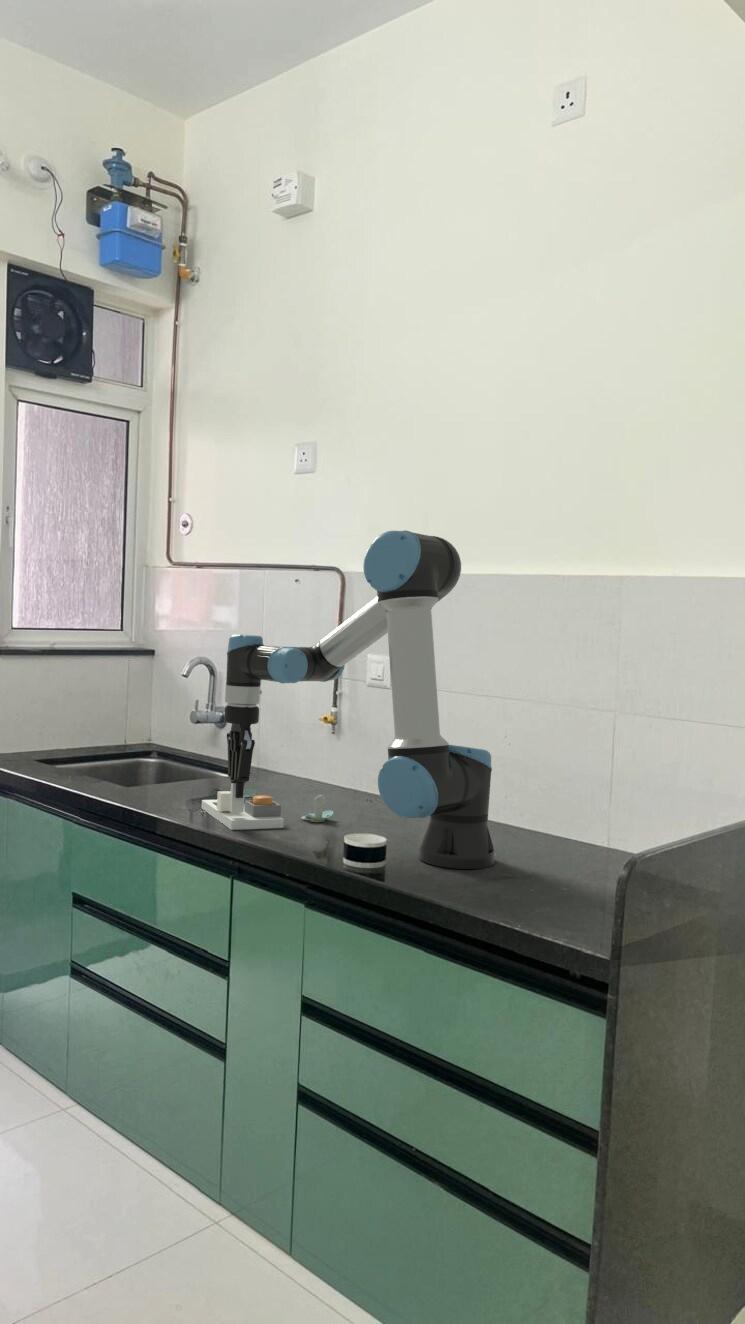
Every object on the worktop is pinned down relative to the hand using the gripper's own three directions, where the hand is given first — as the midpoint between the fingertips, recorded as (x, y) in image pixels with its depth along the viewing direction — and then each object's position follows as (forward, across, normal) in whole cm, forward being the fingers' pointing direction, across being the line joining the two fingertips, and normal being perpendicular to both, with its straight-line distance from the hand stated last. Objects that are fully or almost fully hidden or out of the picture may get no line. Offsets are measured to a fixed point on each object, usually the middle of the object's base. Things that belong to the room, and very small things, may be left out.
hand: (236, 811), depth 222 cm
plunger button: (+1, +3, -7) cm, 8 cm away
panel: (+3, +9, -4) cm, 10 cm away
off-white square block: (+1, +7, 0) cm, 7 cm away
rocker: (-1, +16, -7) cm, 18 cm away
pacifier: (+4, +4, -20) cm, 21 cm away
